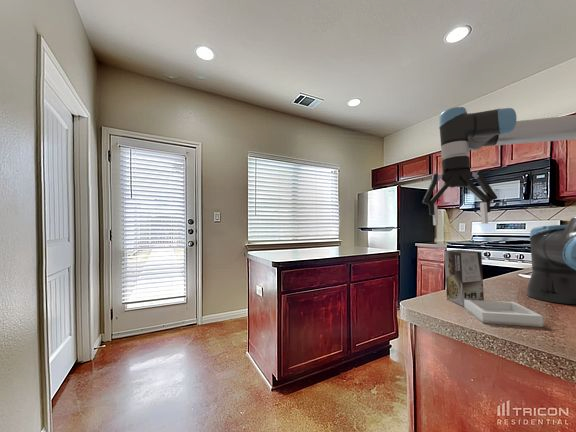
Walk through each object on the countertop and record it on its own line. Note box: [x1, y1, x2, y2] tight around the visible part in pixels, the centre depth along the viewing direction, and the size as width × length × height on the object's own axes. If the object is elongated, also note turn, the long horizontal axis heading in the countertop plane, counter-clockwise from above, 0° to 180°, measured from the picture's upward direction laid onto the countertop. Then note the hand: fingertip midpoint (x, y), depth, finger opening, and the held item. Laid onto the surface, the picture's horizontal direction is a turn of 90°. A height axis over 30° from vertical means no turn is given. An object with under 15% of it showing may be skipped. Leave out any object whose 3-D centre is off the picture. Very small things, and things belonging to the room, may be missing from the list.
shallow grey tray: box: [463, 300, 544, 328], centre depth 69 cm, size 12×12×2 cm
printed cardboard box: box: [443, 249, 485, 307], centre depth 83 cm, size 9×6×16 cm
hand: (459, 224), depth 84 cm, fingers open, 13 cm apart
